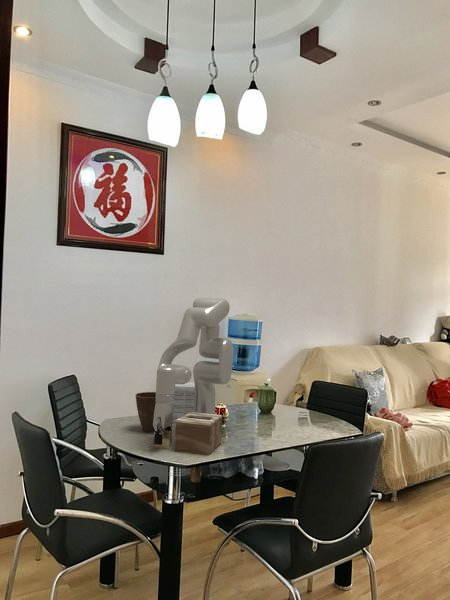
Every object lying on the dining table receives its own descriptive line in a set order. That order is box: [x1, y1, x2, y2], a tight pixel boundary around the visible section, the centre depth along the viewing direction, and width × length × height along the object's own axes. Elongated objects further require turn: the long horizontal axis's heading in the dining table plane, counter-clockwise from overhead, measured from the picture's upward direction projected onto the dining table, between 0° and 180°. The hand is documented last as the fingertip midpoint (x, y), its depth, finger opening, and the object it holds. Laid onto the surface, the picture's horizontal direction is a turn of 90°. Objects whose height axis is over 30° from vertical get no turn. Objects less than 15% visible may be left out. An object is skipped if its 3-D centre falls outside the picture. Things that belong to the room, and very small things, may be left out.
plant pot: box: [135, 391, 161, 433], centre depth 228 cm, size 15×15×16 cm
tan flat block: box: [154, 429, 173, 450], centre depth 203 cm, size 2×6×6 cm, turn 74°
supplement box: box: [173, 382, 195, 423], centre depth 252 cm, size 13×13×18 cm
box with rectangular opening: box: [174, 412, 223, 456], centre depth 204 cm, size 16×14×12 cm
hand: (162, 441), depth 203 cm, fingers open, 9 cm apart
